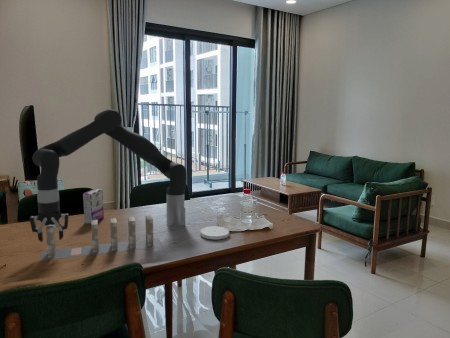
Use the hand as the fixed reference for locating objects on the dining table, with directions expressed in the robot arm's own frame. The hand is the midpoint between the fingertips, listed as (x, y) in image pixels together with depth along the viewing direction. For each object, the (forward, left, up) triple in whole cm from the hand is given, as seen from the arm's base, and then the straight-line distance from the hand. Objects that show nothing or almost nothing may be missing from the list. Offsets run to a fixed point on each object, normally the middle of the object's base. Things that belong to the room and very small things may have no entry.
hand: (51, 240), depth 135 cm
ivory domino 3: (-32, 0, -6) cm, 32 cm away
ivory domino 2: (-24, 0, -6) cm, 25 cm away
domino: (0, 0, -6) cm, 6 cm away
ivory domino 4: (-39, 0, -6) cm, 39 cm away
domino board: (-20, 0, -7) cm, 21 cm away
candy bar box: (-16, -43, -7) cm, 46 cm away
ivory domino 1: (-17, 0, -6) cm, 18 cm away
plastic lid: (-71, -3, -8) cm, 71 cm away
